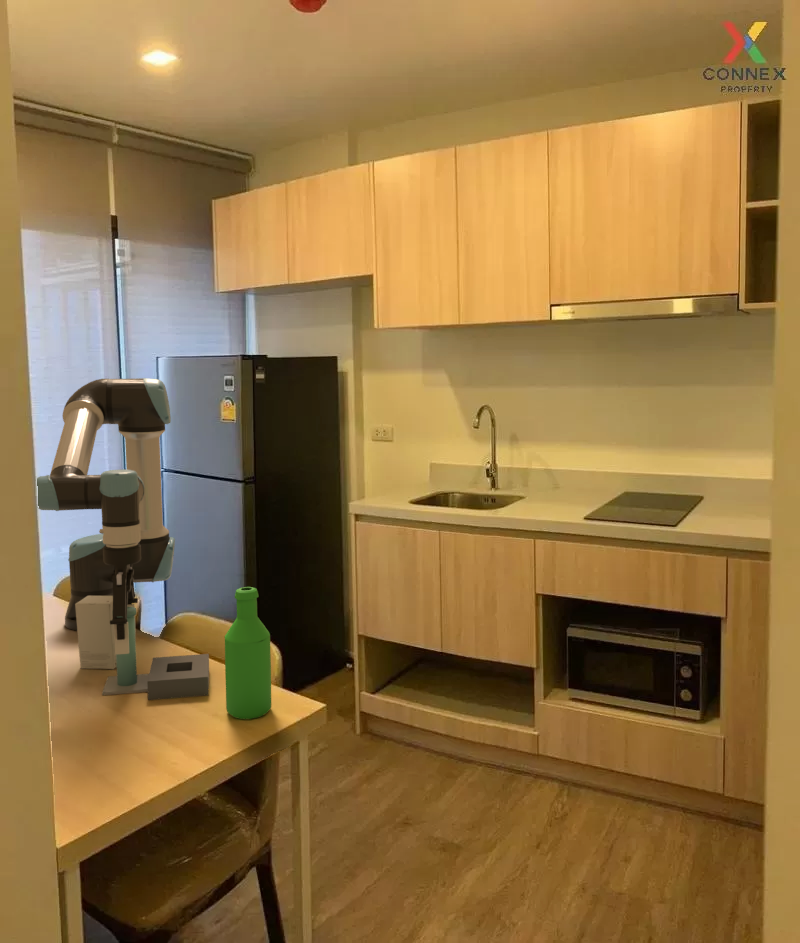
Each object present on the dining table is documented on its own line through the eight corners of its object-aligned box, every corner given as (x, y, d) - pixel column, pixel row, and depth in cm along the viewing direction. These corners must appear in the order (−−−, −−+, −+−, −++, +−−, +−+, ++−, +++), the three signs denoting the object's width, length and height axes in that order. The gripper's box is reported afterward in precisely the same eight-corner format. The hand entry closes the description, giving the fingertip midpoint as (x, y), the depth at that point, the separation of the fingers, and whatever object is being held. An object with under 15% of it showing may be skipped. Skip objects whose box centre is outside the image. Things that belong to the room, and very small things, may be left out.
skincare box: (125, 660, 190) (123, 595, 188) (113, 670, 183) (110, 603, 181) (91, 659, 191) (88, 594, 189) (77, 669, 184) (74, 602, 182)
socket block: (153, 675, 181) (152, 657, 180) (209, 671, 183) (208, 653, 183) (148, 700, 167) (147, 681, 167) (208, 695, 170) (207, 676, 169)
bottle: (263, 699, 168) (261, 581, 164) (277, 715, 160) (275, 591, 157) (221, 707, 164) (218, 586, 160) (233, 724, 156) (230, 597, 153)
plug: (116, 679, 177) (113, 607, 175) (140, 677, 178) (137, 606, 176) (114, 687, 172) (110, 614, 170) (137, 685, 173) (135, 612, 171)
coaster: (108, 679, 178) (107, 676, 178) (151, 676, 180) (150, 673, 180) (102, 695, 169) (102, 692, 169) (147, 691, 171) (147, 689, 171)
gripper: (110, 533, 182) (114, 626, 185) (94, 558, 158) (98, 664, 161) (145, 531, 183) (148, 624, 186) (134, 556, 160) (138, 662, 163)
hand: (125, 643), depth 174 cm, fingers open, 12 cm apart
